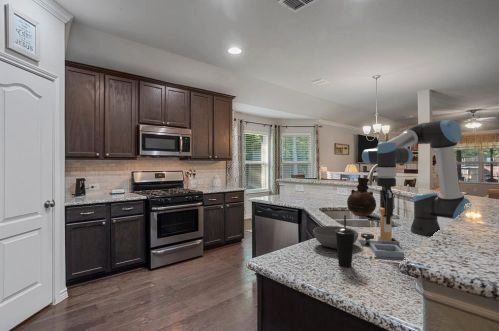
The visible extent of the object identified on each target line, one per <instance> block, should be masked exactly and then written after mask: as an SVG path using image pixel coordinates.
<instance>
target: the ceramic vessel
mask: <svg viewBox="0 0 499 331" xmlns="http://www.w3.org/2000/svg"><path fill="white" fill-rule="evenodd" d="M369 181H370V178H367V177H358V178H357V183H358V184H357V186H356V189H357V190H355V189H352V190H351V192H350V194H349V196H348V198H347V200H346V204H347V207H348V208H347V209H348V210H349V211H350V212H351V214H353V216H355V217H368V216H370V215H372V213H374V211H375V210H376V208H377V201H376V198H375V197H374V195H373V194H374V192H373V191H368V190H369V186H368V183H369Z"/></svg>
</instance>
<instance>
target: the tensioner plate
mask: <svg viewBox="0 0 499 331" xmlns="http://www.w3.org/2000/svg"><path fill="white" fill-rule="evenodd" d="M360 238H361V239H357V241H358V243H359V244H360V246H361V247H362V248H370V243H372V244H389V245H397V246H398V247H399V248H400V249H401V250H404V248H403V246H401V245H400V241H399V240H398V239H396V238H395V237H392V240H391V241H384V240H381V239H380V236H378V237H377V239H378V240H374V239H375V235H374V234H372V233H367V232H366V233H361V234H360Z"/></svg>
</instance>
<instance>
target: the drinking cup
mask: <svg viewBox="0 0 499 331" xmlns="http://www.w3.org/2000/svg"><path fill="white" fill-rule="evenodd" d="M343 227H344V228H340V229H337V230H335V233H336V240H337V249H336V251H337V260H338V266H339V267H342V268H351V267H352V264H353V263H352V261H353V252H354V244H355V243H354V234H355V231H356V230H355V231H353V230H354V229H353V230H351V229H352V228H349V227H347V215H343ZM348 228H349V229H348Z"/></svg>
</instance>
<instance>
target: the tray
mask: <svg viewBox="0 0 499 331" xmlns="http://www.w3.org/2000/svg"><path fill="white" fill-rule="evenodd" d="M369 248H370V250H371V251H372V253H373V255H374V256H373V258H374V259H375V260H380V261H381V260H382V261H383V260H384V261H395V262H397V261H399V262H403V261H402V260H403V259H405V251H403V249H400V248H399V247H398V246H397V245H389V244H372V243H370V247H369Z"/></svg>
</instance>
